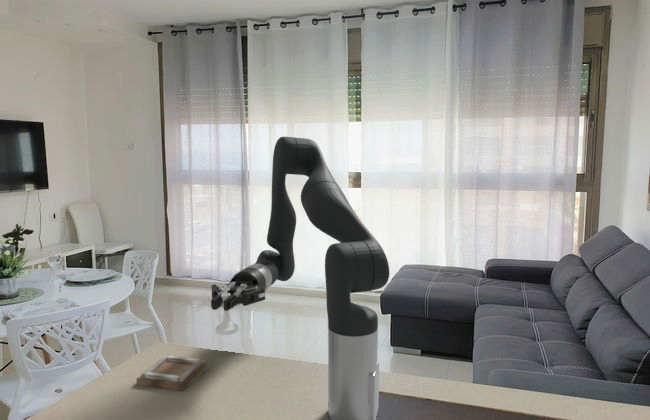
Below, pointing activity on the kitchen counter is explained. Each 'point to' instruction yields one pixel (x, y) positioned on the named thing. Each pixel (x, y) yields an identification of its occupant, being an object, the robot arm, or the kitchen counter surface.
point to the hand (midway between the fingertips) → (219, 305)
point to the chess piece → (226, 318)
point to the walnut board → (173, 373)
